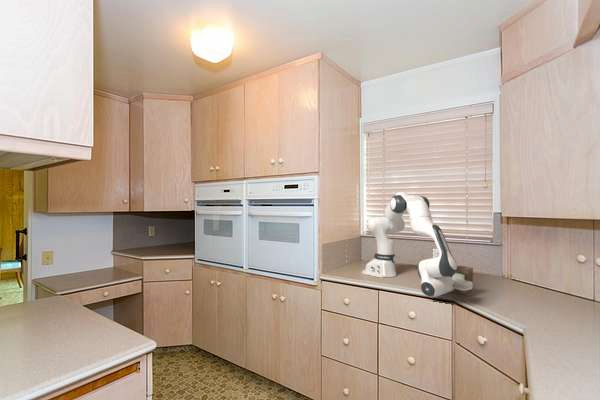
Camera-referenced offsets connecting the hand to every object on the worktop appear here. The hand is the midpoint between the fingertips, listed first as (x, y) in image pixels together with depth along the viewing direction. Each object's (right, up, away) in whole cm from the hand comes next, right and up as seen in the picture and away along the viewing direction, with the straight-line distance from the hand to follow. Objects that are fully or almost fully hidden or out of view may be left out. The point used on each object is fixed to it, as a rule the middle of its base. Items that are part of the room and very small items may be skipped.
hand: (457, 279), depth 165 cm
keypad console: (-1, -8, +9) cm, 12 cm away
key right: (+2, -3, +1) cm, 4 cm away
